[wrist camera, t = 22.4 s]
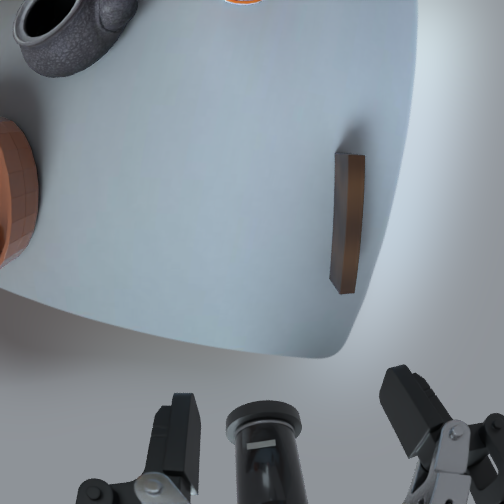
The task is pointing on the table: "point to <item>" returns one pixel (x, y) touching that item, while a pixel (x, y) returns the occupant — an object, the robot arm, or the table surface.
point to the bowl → (16, 191)
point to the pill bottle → (243, 2)
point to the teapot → (69, 32)
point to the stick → (347, 220)
